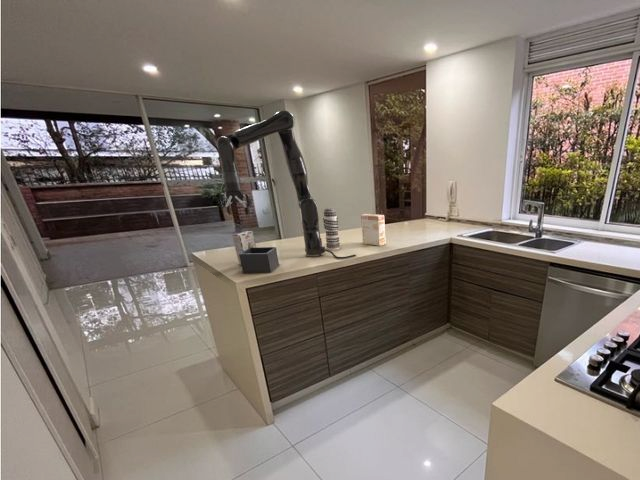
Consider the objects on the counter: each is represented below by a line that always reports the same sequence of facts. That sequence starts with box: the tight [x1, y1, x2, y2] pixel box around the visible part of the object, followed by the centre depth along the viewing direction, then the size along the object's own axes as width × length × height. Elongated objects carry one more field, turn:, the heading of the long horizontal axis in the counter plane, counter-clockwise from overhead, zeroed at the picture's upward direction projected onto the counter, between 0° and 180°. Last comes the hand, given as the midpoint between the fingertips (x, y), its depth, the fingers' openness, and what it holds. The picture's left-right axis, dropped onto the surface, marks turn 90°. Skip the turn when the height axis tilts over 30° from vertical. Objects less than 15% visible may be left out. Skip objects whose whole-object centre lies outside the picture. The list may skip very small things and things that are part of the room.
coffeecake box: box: [360, 213, 386, 247], centre depth 228 cm, size 15×7×20 cm, turn 58°
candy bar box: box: [231, 230, 257, 266], centre depth 184 cm, size 11×5×16 cm, turn 168°
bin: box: [239, 246, 280, 274], centre depth 175 cm, size 14×15×10 cm
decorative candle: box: [322, 207, 341, 251], centre depth 214 cm, size 9×9×25 cm
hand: (238, 214), depth 176 cm, fingers open, 8 cm apart
